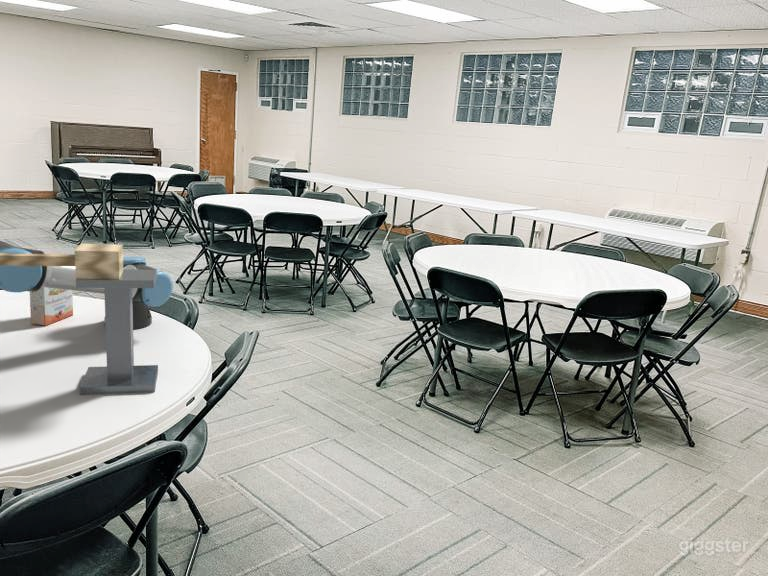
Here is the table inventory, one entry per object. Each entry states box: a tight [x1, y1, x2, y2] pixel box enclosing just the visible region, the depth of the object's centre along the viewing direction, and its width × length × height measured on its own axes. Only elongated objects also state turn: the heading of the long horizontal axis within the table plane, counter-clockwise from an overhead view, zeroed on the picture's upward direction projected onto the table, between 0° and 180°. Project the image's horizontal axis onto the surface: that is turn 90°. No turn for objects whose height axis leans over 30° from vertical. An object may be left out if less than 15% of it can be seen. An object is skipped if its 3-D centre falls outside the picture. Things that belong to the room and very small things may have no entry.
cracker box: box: [29, 287, 74, 327], centre depth 211 cm, size 14×6×21 cm, turn 168°
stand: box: [76, 269, 159, 396], centre depth 166 cm, size 18×14×30 cm
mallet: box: [0, 243, 124, 279], centre depth 157 cm, size 28×9×7 cm, turn 106°
